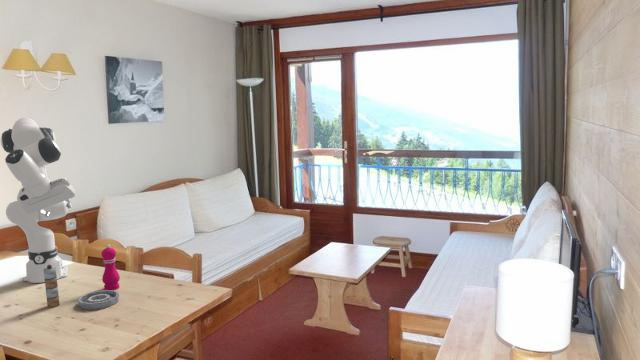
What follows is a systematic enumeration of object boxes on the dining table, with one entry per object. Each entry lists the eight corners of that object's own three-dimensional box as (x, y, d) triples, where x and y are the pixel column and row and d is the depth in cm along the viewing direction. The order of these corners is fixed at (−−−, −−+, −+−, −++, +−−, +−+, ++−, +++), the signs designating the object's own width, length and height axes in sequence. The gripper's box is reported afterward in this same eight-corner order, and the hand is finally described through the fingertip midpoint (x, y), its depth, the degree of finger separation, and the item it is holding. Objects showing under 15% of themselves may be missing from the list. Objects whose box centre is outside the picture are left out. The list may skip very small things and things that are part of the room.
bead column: (49, 304, 210) (44, 263, 207) (60, 302, 211) (56, 262, 208) (46, 308, 205) (41, 266, 203) (57, 306, 206) (53, 265, 204)
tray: (83, 298, 215) (83, 292, 215) (121, 294, 218) (121, 288, 218) (75, 311, 201) (74, 305, 200) (115, 307, 204) (115, 301, 203)
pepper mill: (114, 291, 223) (110, 246, 220) (99, 290, 224) (95, 246, 221) (123, 285, 230) (120, 242, 227) (109, 285, 231) (105, 242, 228)
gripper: (65, 172, 202) (84, 197, 211) (15, 191, 201) (36, 215, 210) (63, 181, 197) (83, 206, 206) (12, 200, 196) (34, 225, 205)
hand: (59, 211), depth 208 cm, fingers open, 8 cm apart
